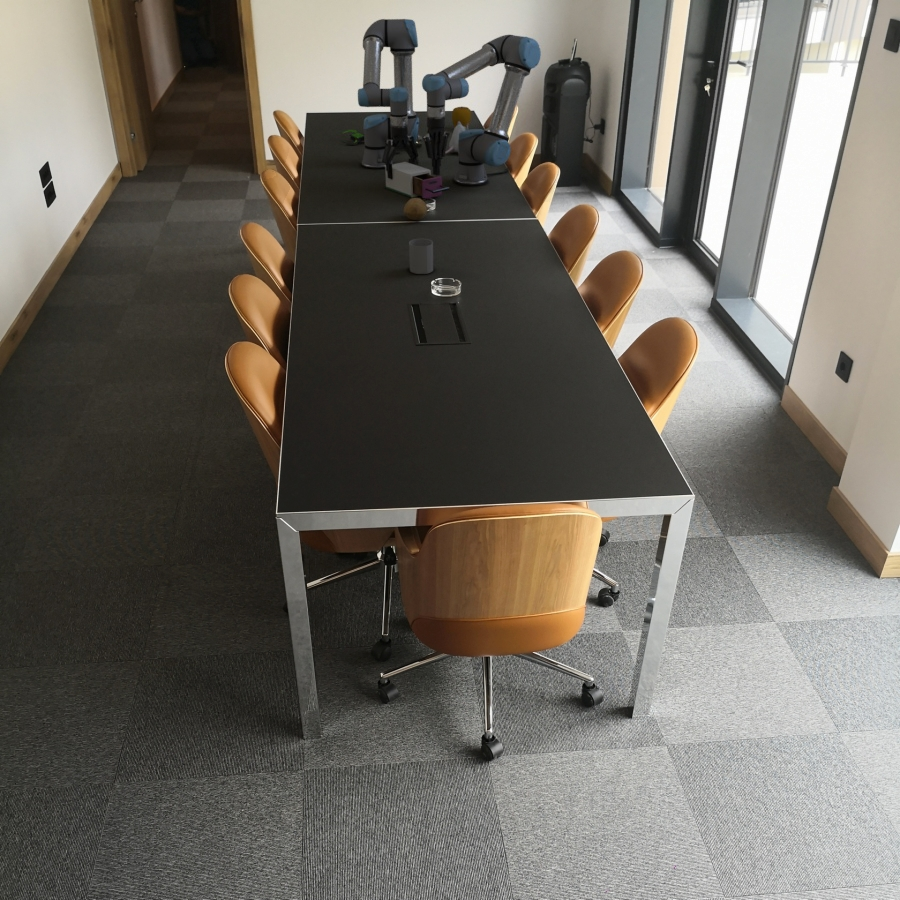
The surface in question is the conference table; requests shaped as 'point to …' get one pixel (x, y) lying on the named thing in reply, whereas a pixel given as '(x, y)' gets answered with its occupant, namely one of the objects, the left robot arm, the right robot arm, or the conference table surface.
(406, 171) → the cabinet
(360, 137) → the green irregular shape
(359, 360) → the conference table surface
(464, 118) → the apple
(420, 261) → the cup
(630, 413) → the conference table surface
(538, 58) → the right robot arm
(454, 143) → the toy
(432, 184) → the drawer
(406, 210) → the potato
